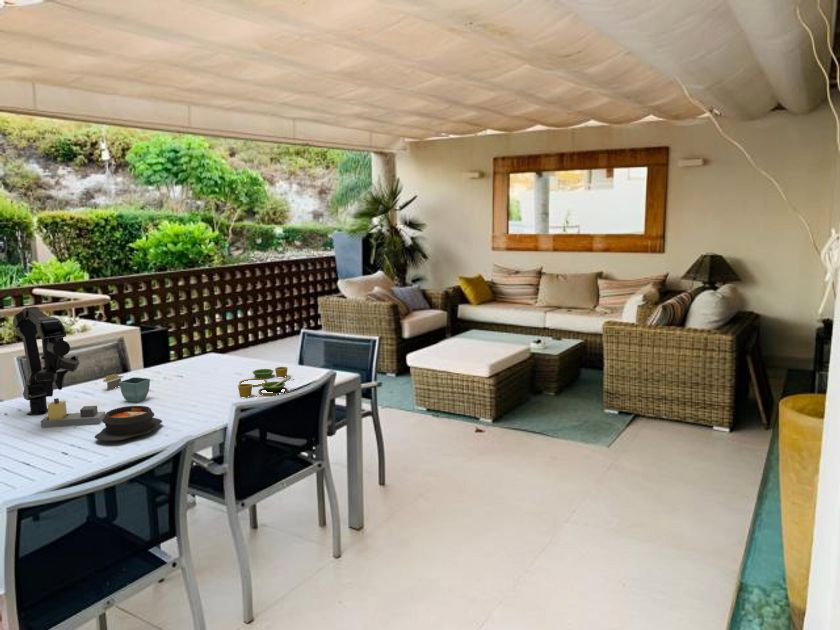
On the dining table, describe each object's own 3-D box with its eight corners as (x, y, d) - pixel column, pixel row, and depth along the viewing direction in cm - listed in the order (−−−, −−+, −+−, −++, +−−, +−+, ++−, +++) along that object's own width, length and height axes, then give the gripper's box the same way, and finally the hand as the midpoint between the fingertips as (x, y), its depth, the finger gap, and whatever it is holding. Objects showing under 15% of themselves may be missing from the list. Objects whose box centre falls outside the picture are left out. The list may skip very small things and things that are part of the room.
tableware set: (278, 401, 266) (278, 386, 265) (217, 398, 269) (216, 384, 268) (308, 377, 306) (308, 364, 305) (254, 375, 310) (254, 362, 309)
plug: (54, 421, 237) (52, 397, 235) (67, 421, 238) (65, 396, 236) (49, 425, 232) (47, 401, 231) (62, 425, 233) (60, 400, 232)
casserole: (134, 420, 239) (133, 399, 237) (174, 425, 233) (173, 404, 232) (81, 442, 215) (79, 419, 214) (124, 448, 209) (122, 425, 208)
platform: (87, 393, 277) (85, 378, 276) (117, 383, 294) (116, 369, 292) (108, 395, 273) (107, 381, 272) (138, 385, 290) (137, 371, 289)
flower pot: (152, 398, 267) (150, 378, 266) (137, 404, 259) (136, 383, 257) (134, 397, 269) (133, 376, 268) (120, 402, 261) (118, 382, 260)
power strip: (49, 420, 238) (48, 406, 237) (105, 417, 242) (104, 404, 241) (41, 427, 230) (39, 413, 229) (99, 424, 234) (98, 410, 233)
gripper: (66, 356, 223) (70, 398, 225) (83, 346, 241) (87, 385, 244) (32, 358, 221) (36, 400, 223) (52, 347, 239) (56, 386, 241)
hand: (55, 392), depth 233 cm, fingers open, 9 cm apart
